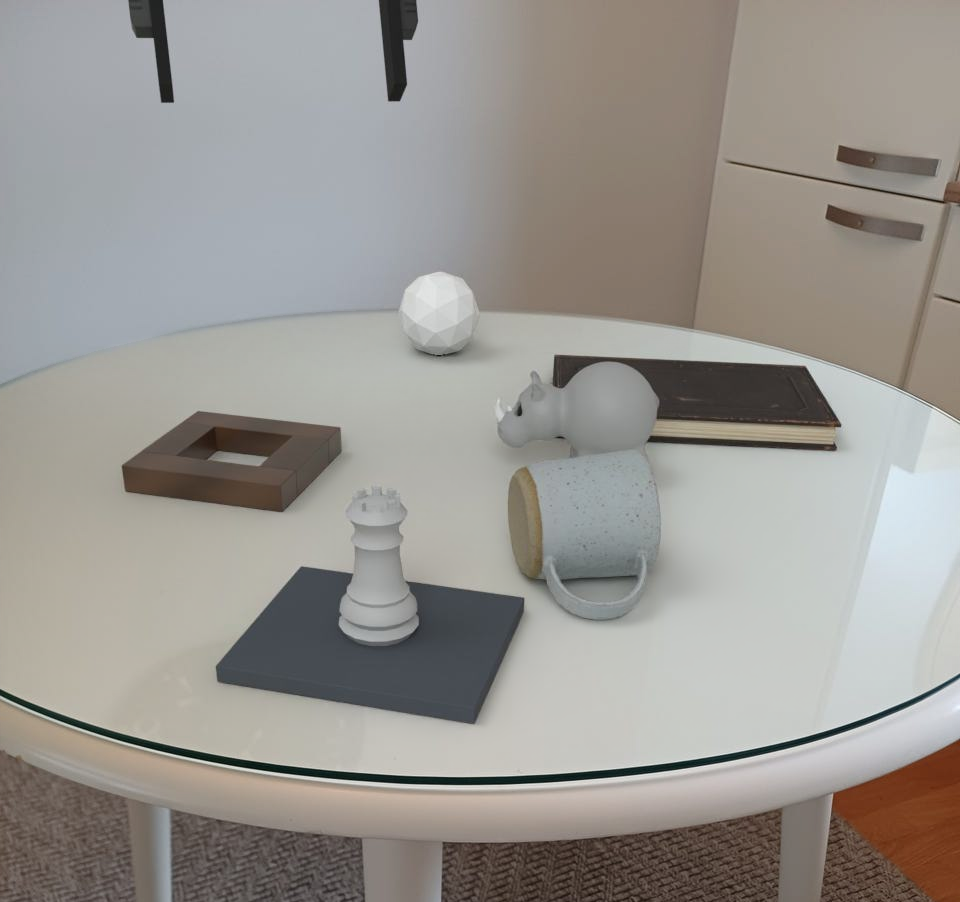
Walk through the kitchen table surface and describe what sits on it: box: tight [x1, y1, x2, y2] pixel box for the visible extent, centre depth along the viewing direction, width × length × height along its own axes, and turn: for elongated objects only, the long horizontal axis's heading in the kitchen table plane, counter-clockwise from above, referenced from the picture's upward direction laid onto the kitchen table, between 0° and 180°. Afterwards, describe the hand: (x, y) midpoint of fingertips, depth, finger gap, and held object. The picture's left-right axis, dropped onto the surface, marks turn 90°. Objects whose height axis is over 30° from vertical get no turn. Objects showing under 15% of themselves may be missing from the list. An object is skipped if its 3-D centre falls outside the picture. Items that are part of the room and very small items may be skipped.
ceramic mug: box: [507, 449, 662, 621], centre depth 68 cm, size 11×8×8 cm
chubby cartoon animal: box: [493, 362, 659, 464], centre depth 83 cm, size 7×12×8 cm, turn 89°
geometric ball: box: [398, 270, 481, 356], centre depth 109 cm, size 8×8×8 cm
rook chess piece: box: [339, 485, 419, 646], centre depth 60 cm, size 4×4×8 cm
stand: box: [121, 410, 343, 513], centre depth 83 cm, size 12×12×2 cm
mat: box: [215, 565, 525, 724], centre depth 63 cm, size 14×12×1 cm
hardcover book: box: [552, 354, 842, 451], centre depth 97 cm, size 16×23×2 cm
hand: (284, 94), depth 67 cm, fingers open, 13 cm apart
